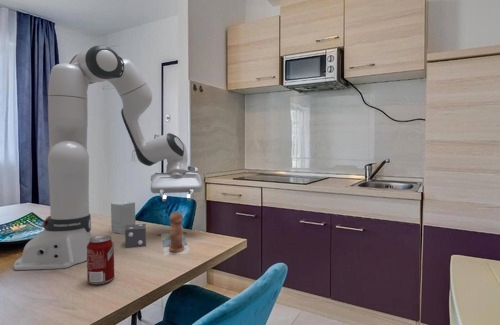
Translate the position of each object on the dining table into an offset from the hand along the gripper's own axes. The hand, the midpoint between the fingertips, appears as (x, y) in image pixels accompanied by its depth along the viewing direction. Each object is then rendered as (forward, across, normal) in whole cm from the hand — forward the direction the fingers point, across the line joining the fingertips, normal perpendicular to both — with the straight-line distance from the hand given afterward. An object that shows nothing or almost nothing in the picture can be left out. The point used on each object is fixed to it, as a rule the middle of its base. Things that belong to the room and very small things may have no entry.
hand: (176, 200), depth 120 cm
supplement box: (-2, -23, +26) cm, 35 cm away
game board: (+13, -1, +10) cm, 17 cm away
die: (+12, -15, +11) cm, 22 cm away
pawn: (+19, 0, +4) cm, 20 cm away
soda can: (+34, -20, -11) cm, 41 cm away
